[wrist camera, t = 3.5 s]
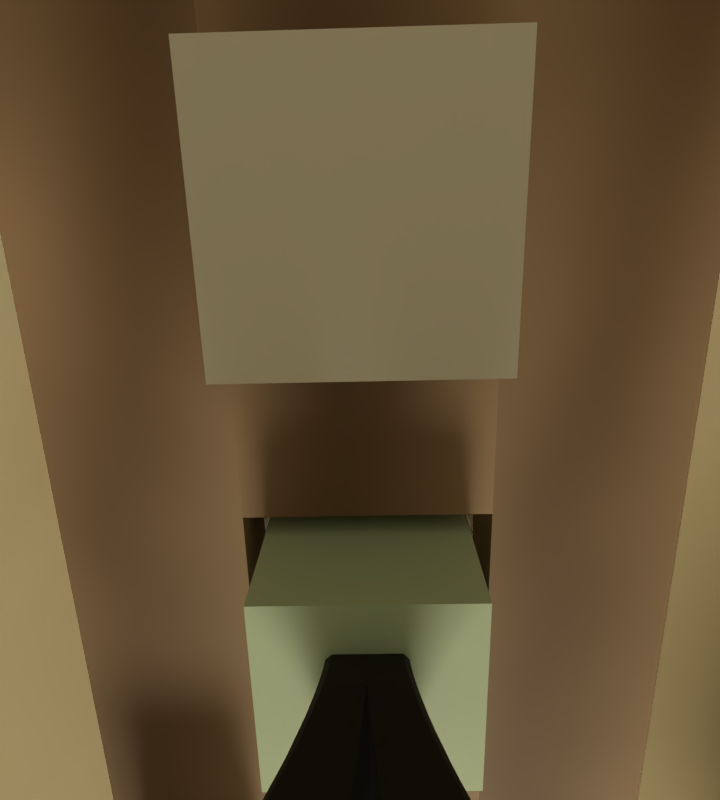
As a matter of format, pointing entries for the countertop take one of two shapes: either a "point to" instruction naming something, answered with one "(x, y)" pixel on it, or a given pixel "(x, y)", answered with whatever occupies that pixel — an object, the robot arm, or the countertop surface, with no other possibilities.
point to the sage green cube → (370, 622)
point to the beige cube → (357, 199)
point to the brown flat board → (368, 386)
